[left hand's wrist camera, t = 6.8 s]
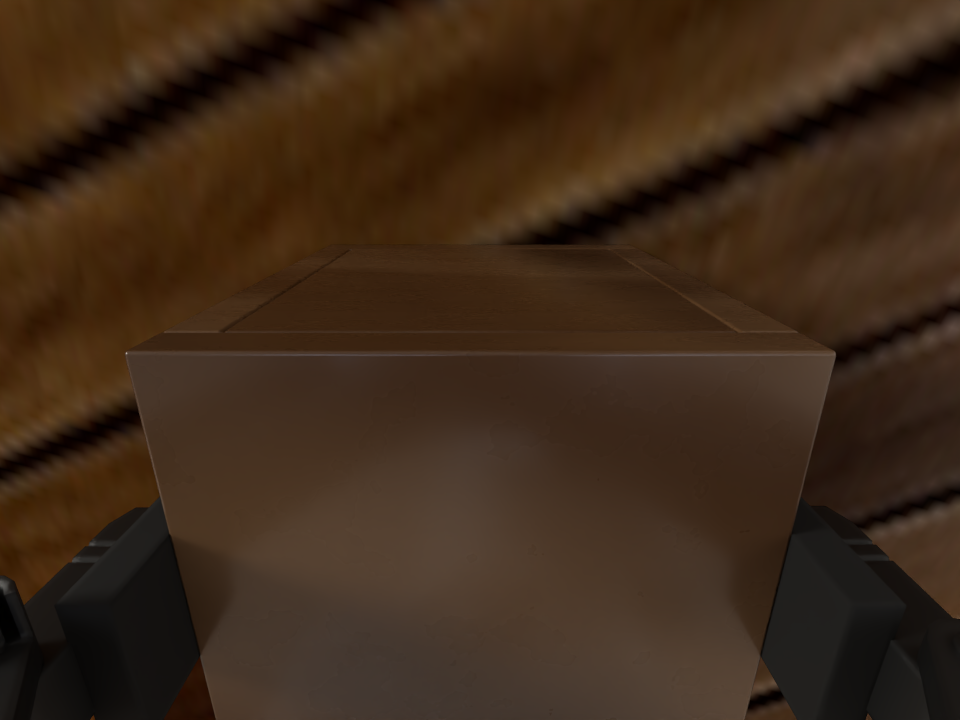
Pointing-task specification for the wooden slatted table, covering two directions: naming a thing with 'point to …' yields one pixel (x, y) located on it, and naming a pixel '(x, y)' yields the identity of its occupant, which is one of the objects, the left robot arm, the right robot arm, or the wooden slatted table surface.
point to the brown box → (480, 484)
